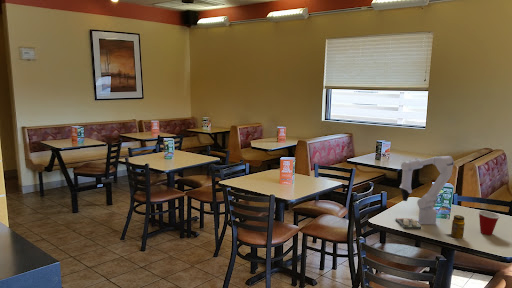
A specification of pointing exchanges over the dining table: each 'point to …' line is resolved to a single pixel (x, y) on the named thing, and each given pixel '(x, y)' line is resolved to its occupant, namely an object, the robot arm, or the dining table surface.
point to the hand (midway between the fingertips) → (404, 200)
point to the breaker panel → (410, 226)
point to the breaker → (414, 221)
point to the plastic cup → (487, 222)
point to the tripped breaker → (406, 222)
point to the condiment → (457, 228)
